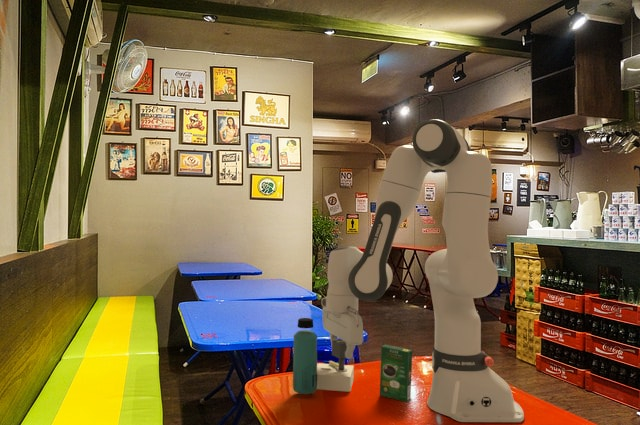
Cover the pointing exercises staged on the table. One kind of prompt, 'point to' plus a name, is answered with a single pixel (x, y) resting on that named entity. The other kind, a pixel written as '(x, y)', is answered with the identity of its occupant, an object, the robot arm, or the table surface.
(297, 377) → the beverage bottle
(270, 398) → the table surface
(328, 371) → the cream square baseplate
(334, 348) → the dark box with stem
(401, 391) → the coffee box
